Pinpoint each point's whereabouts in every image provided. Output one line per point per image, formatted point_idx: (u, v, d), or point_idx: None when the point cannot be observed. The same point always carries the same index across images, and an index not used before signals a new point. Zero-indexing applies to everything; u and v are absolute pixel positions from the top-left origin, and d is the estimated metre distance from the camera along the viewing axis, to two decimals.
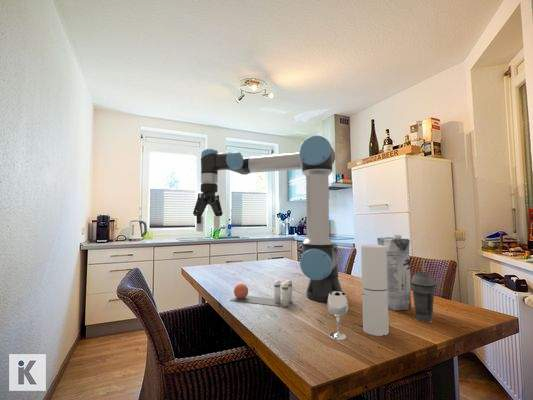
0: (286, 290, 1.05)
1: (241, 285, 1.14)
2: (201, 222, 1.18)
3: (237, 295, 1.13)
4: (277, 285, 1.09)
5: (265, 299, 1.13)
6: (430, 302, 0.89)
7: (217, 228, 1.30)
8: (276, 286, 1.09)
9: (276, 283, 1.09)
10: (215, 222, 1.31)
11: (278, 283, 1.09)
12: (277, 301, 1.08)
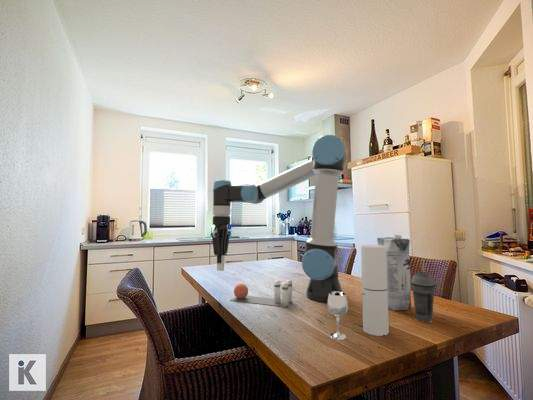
0: (286, 290, 1.05)
1: (241, 285, 1.14)
2: (221, 262, 1.18)
3: (237, 295, 1.13)
4: (277, 285, 1.09)
5: (265, 299, 1.13)
6: (430, 302, 0.89)
7: None
8: (276, 286, 1.09)
9: (276, 283, 1.09)
10: None
11: (278, 283, 1.09)
12: (277, 301, 1.08)
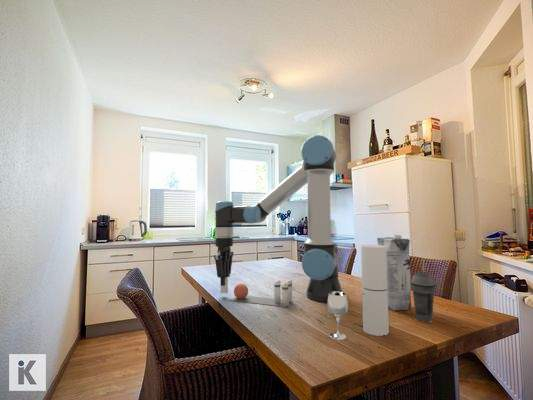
0: (286, 290, 1.05)
1: (241, 285, 1.14)
2: (225, 284, 1.17)
3: (237, 295, 1.13)
4: (277, 285, 1.09)
5: (265, 299, 1.13)
6: (430, 302, 0.89)
7: None
8: (276, 286, 1.09)
9: (276, 283, 1.09)
10: None
11: (278, 283, 1.09)
12: (277, 301, 1.08)
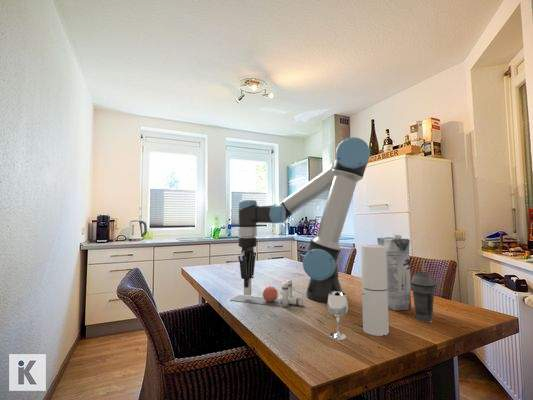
0: (286, 290, 1.05)
1: (263, 297, 1.11)
2: (249, 285, 1.13)
3: (270, 294, 1.08)
4: (297, 303, 1.05)
5: None
6: (430, 302, 0.89)
7: (249, 293, 1.14)
8: (296, 302, 1.05)
9: (299, 302, 1.05)
10: None
11: (299, 304, 1.05)
12: None
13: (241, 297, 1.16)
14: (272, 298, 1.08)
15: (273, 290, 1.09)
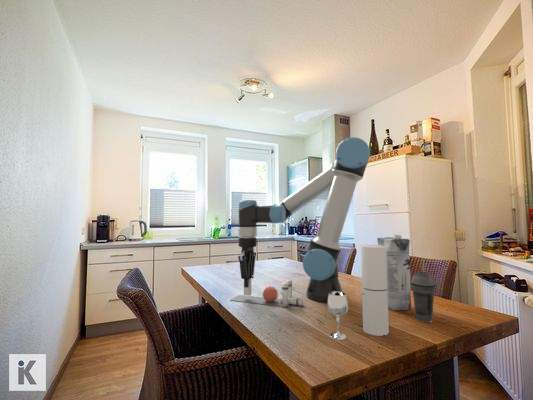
0: (286, 290, 1.05)
1: (263, 297, 1.11)
2: (249, 285, 1.13)
3: (270, 294, 1.08)
4: (297, 303, 1.05)
5: None
6: (430, 302, 0.89)
7: (249, 293, 1.14)
8: (296, 302, 1.06)
9: (299, 302, 1.05)
10: None
11: (299, 304, 1.05)
12: None
13: (241, 297, 1.16)
14: (272, 298, 1.08)
15: (273, 290, 1.09)
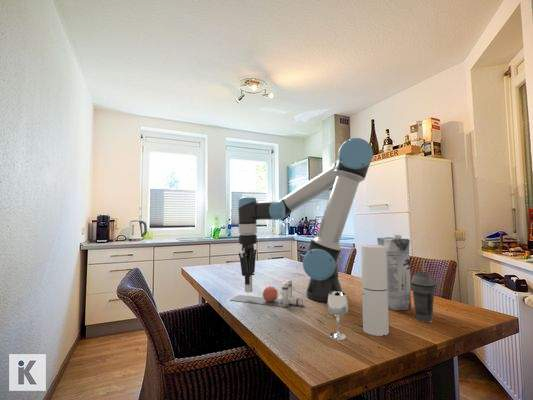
0: (286, 290, 1.05)
1: (263, 297, 1.11)
2: (250, 283, 1.13)
3: (270, 294, 1.08)
4: (297, 303, 1.05)
5: None
6: (430, 302, 0.89)
7: None
8: (296, 302, 1.06)
9: (299, 302, 1.05)
10: None
11: (299, 304, 1.05)
12: None
13: (241, 297, 1.16)
14: (272, 298, 1.08)
15: (273, 290, 1.09)
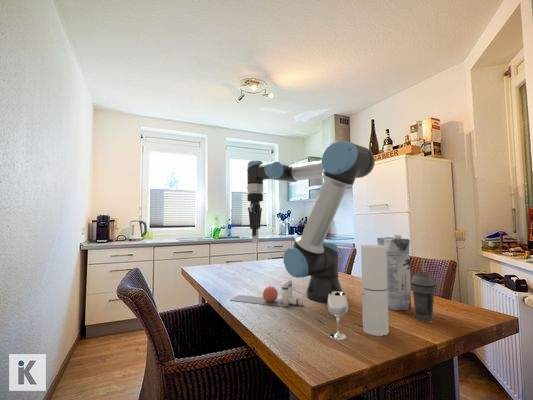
0: (286, 290, 1.05)
1: (263, 297, 1.11)
2: (256, 234, 1.31)
3: (270, 294, 1.08)
4: (297, 303, 1.05)
5: None
6: (430, 302, 0.89)
7: None
8: (296, 302, 1.06)
9: (299, 302, 1.05)
10: None
11: (299, 304, 1.05)
12: None
13: (241, 297, 1.16)
14: (272, 298, 1.08)
15: (273, 290, 1.09)
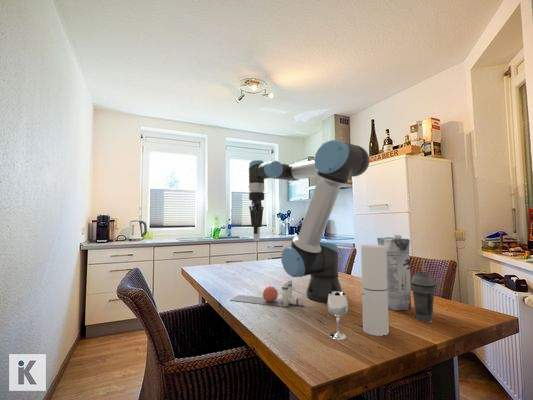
0: (286, 290, 1.05)
1: (263, 297, 1.11)
2: (258, 232, 1.34)
3: (270, 294, 1.08)
4: (297, 303, 1.05)
5: None
6: (430, 302, 0.89)
7: None
8: (296, 302, 1.06)
9: (299, 302, 1.05)
10: None
11: (299, 304, 1.05)
12: None
13: (241, 297, 1.16)
14: (272, 298, 1.08)
15: (273, 290, 1.09)
